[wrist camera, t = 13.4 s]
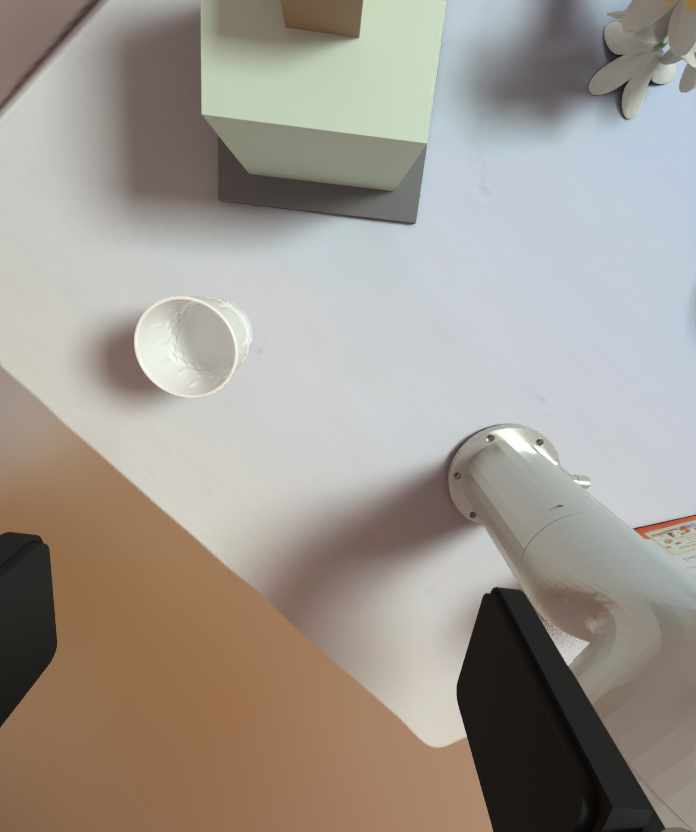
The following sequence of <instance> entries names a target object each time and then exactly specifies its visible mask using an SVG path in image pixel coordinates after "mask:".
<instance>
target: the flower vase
mask: <svg viewBox="0 0 696 832" xmlns="http://www.w3.org/2000/svg"><path fill="white" fill-rule="evenodd" d="M607 15H609V16H611V17H613V18H617V19H620V20H622V22H621V23H620V22H616V21H614V22H613V21H612V22H609V23H608V24H607V25H606V26H605V29H604V38H605V42H606V44H607V46H608V47H609V49H610V50H611V51H612V52H613V53H615V54H617V55H623V56H621V57H619V58H617V59H615V60H614V61H612V62H610V63H609V64H607V65H606V66H604V67H603V68H602V69H600V70H599V71H598V72H597V73H596V74H595V75H594V76H593V78H592V79H591V81H590V83H589V87H588V88H589V92H590V93H591V94H594V95H602V94H606V93H608V92H611V91H613V90H615V89H617V88H618V87H620V86H621V85H623V84H624V83H625V82H627V81H628V80H629V79H630V78H631V79H630V80H629V82H628V83H627V85H626V86H625V89H624V92H623V96H622V110H623V114H624V116H625V117H626V118H627V119H632V118H634V117H635V116H636V115H637V114H638V112H639V110H640V108H641V106H642V103H643V101H644V98H645V94H646V91H647V87H648V84H649V82H650V80H651V78H652V81H653V82H654V83H657V84H666V83H668V82H670V81H672V80H673V79H674V77H675V74H676V67H675V65H674V63H676V62H678V61H680V60H682V59H683V60H684V61H685V62H687V65H686V67H685V69H684V72H683V74H682V77H681V80H680V84H679V89H680V91H681V93H683V92H686V93H687V92H688V91H691V90H692V89H694V88H695V87H696V0H633V1H632V2H631V3H630V5H629V6H628V8H627V9H626V10H625V11H618V12H611V13H607ZM667 43H669V46H670V49H669V50H668V51H667V52H666V53H665V54H664V52H663V50H662V48H663V47H664V46H665V45H666V44H667ZM624 54H625V55H624Z"/></svg>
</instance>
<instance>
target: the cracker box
mask: <svg viewBox="0 0 696 832" xmlns="http://www.w3.org/2000/svg"><path fill="white" fill-rule="evenodd" d="M634 530H635V531H636V532H637V533H638V534H639V535H641V536H642V537H643V538H644V539H645V540H647V541H648V542H649V543H651V544H652V545H653V546H654V547H656V548H657V549H658V550H660V551H661V552H662V553H664V554H665V555H666V556H667V557H669V558H670V559H671V560H673V561H674V562H675V563H677V564H678V565H679V566H681V567H682V568H684V569H685V570H687V571H688V572H690V573H691V574H693V575H694V576H696V516H691V517H687V518H683V519H678V520H674V521H669V522H665V523H660V524H656V525H651V526H647V527H643V528H638V529H634Z"/></svg>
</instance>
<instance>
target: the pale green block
mask: <svg viewBox="0 0 696 832" xmlns="http://www.w3.org/2000/svg"><path fill="white" fill-rule="evenodd" d="M446 3H447V0H201V112H202V116H203V117H204V118H205V119H206V121H207V122H208V123H209V124H210V126H211V127H212V128H213V129H214V131H215V132H216V133H217V134H218V136H219V137H220V138H221V139H222V141H223V142H224V143H225V144H226V146H227V147H228V148H229V149H230V151H231V152H232V153H233V154H234V156H235V157H236V158H237V159H238V161H239V162H240V163H241V164H242V166H243V167H244V168H245V169H246V171H247V172H248V173H249V174H255V175H263V176H271V177H279V178H288V179H296V180H304V181H313V182H321V183H329V184H337V185H346V186H354V187H362V188H371V189H379V190H387V191H395V189H396V188H397V186H398V185H399V183H400V182H401V181H402V179H403V178H404V176H405V175H406V173H407V172H408V170H409V169H410V167H411V166H412V165H413V163H414V162H415V160H416V159H417V157H418V156H419V154H420V153H421V152H422V150H423V149H424V147H425V146H426V144H427V140H428V133H429V126H430V119H431V112H432V104H433V97H434V90H435V83H436V76H437V68H438V61H439V54H440V47H441V39H442V32H443V25H444V18H445V11H446Z"/></svg>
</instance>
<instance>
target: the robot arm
mask: <svg viewBox="0 0 696 832" xmlns="http://www.w3.org/2000/svg"><path fill="white" fill-rule="evenodd" d="M488 435H489V437H487V436H488ZM536 440H537V441H536ZM456 472H457V473H456ZM455 473H456V474H455ZM589 486H590V479H589V477H588V476H582V475H571V474H570V473H568V472H567V471H566V470H565V469H564V468H562V467H561V466H560V460H559V456H558V453H557V451H556V450H555V448H554V446H553V445H552V444H551V443H550V441H549V440H548V439H547V438H546V437H544V436H543V435H542V434H540V433H539V432H537V431H535V430H533V429H531V428H529V427H526V426H522V425H515V424H504V425H497V426H493V427H490V428H487V429H485V430H483V431H480V432H478V433H477V434H475V435H474V436H472V437H471V438H469V439H468V440H467V441H466V442H465V443H464V444H463V445H462V446H461V447H460V449H459V450H458V451H457V453H456V454H455V456H454V458H453V460H452V462H451V464H450V468H449V472H448V488H449V493H450V496H451V498H452V500H453V502H454V504H455V506H456V507H457V509H458V510H459V511H460V512H461V513H462V514H463V515H464V516H465V517H466V518H467V519H469V520H470V521H473V522H475V523H477V524H479V525H483V526H484V527H485V529H486V531H487V532H488V534H489V535H490V537H491V539H492V540H493V542H494V544H495V545H496V547H497V549H498V550H499V552H500V553H501V555H502V557H503V558H504V560H505V562H506V563H507V565H508V567H509V568H510V570H511V571H512V573H513V575H514V576H515V578H516V580H517V581H518V583H519V585H520V586H521V588H522V590H523V591H524V593H525V594H526V595H525V594H524V593H523V591H521V590H516V589H507V588H498V587H496V588H493V589H492V591H491V593H490V594H489V593H486V594H485V595H484V596H483V598H482V602H481V605H480V608H479V612H478V615H477V618H476V622H475V625H474V629H473V632H472V635H471V639H470V642H469V645H468V649H467V652H466V655H465V659H464V662H463V666H462V669H461V672H460V676H459V679H458V683H457V701H458V705H459V709H460V713H461V716H462V720H463V723H464V727H465V731H466V734H467V738H468V741H469V745H470V748H471V752H472V756H473V759H474V763H475V767H476V770H477V774H478V777H479V781H480V785H481V788H482V792H483V795H484V799H485V802H486V806H487V809H488V813H489V817H490V820H491V824H492V828H493V831H494V832H696V576H694V575H693V574H691V573H690V572H688V571H687V570H685V569H684V568H682V567H681V566H679V565H678V564H677V563H675V562H674V561H673V560H671V559H670V558H669V557H667V556H666V555H665V554H664V553H662V552H661V551H660V550H658V549H657V548H656V547H654V546H653V545H652V544H651V543H649V542H648V541H647V540H645V539H644V538H643V537H642V536H641V535H639V534H638V533H637V532H636V531H635V530H633V529H632V528H631V527H630V526H628V525H627V524H626V523H625V522H624V521H622V520H621V519H620V518H618V517H617V516H616V515H615V514H614V513H612V512H611V511H610V510H609V509H608V508H606V507H605V506H604V505H603V504H602V503H600V502H599V501H598V500H597V499H596V498H594V497H593V496H592V495H591V494H590V493H588V492H587V491H586V490H585V489H584V488H588V487H589ZM50 565H51V564H50V552H49V547H48V545H47V544H44V543H43V541H42V539H41V537H40V536H37V535H31V534H22V533H14V532H7V533H4V534H2V535H0V727H1V726H2V724H3V723H4V722H5V720H6V719H7V718H8V717H9V715H10V714H11V713H12V711H13V710H14V709H15V708H16V706H17V705H18V704H19V703H20V701H21V700H22V699H23V697H24V696H25V695H26V693H27V692H28V691H29V689H30V688H31V687H32V686H33V684H34V683H35V682H36V681H37V679H38V678H39V677H40V675H41V674H42V673H43V671H44V670H45V669H46V668H47V666H48V665H49V664H50V662H51V661H52V658H53V657H54V654H55V652H56V648H57V636H56V624H55V612H54V600H53V589H52V576H51V566H50ZM526 596H527V597H528V599H529V600H528V599H527V597H526ZM529 601H530V602H531V604H532V605H533V606H534V608H535V609H536V610H537V612H538V613H539V614H540V615H541V616H542V617H543V618H544V619H545V620H547V621H548V622H549V623H550V624H552V625H553V626H555V627H556V628H558V629H559V630H561V631H563V632H565V633H567V634H569V635H571V636H573V637H576V638H578V639H581V640H584V641H587V642H590V643H589V645H588V646H587V647H586V648H585V649H584V650H583V651H582V652H581V653H580V654H579V655H578V656H577V657H576V658H575V659H574V660H573V662H572V663H571V664H570V665H569V666H567V664H566V663H565V661H564V659H563V658H562V656H561V654H560V653H559V651H558V649H557V648H556V646H555V644H554V642H553V641H552V639H551V637H550V636H549V634H548V632H547V631H546V629H545V627H544V626H543V624H542V622H541V621H540V619H539V617H538V615H537V614H536V612H535V610H534V609H533V607H532V605H531V604H530V602H529Z"/></svg>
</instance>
